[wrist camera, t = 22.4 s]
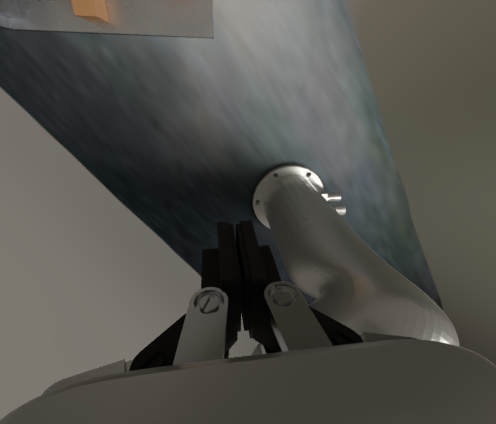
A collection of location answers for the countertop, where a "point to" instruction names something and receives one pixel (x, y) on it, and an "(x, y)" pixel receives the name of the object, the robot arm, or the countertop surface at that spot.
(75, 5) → the sliding jaw
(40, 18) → the vise base
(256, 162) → the countertop surface
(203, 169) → the countertop surface
